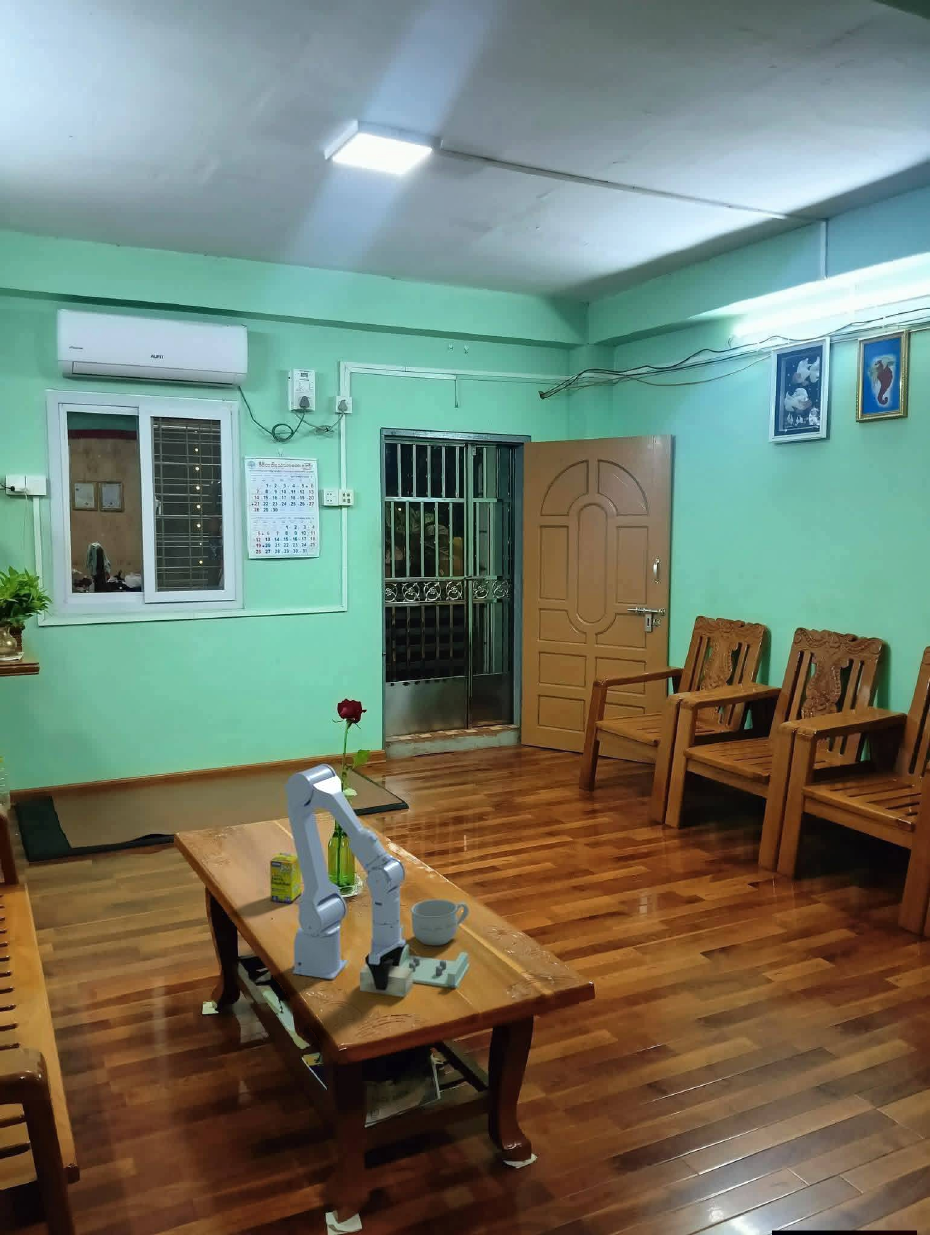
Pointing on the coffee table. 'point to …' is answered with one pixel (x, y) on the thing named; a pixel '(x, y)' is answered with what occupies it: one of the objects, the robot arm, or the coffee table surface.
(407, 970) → the shelf block
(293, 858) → the supplement box
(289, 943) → the coffee table surface
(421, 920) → the teacup
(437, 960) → the peg frame
